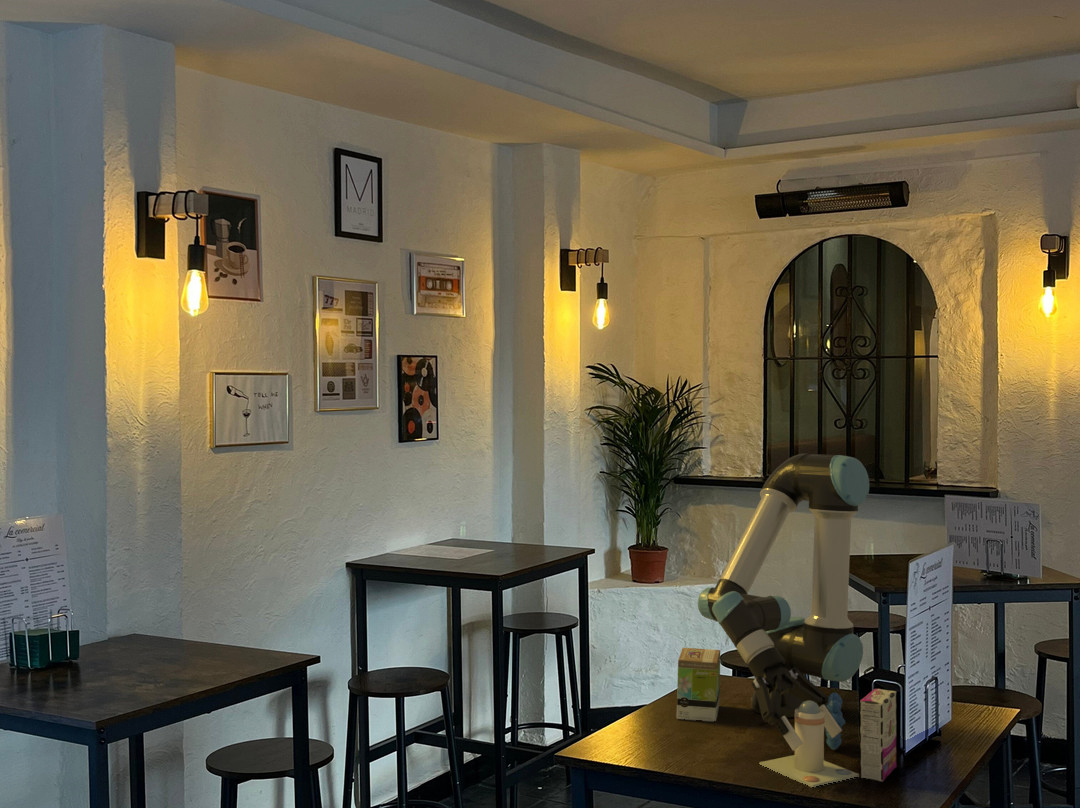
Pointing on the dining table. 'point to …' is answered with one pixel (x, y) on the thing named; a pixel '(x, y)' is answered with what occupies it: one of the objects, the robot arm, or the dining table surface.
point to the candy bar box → (878, 734)
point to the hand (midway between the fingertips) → (818, 740)
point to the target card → (811, 779)
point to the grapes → (834, 709)
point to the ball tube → (809, 737)
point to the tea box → (698, 684)
